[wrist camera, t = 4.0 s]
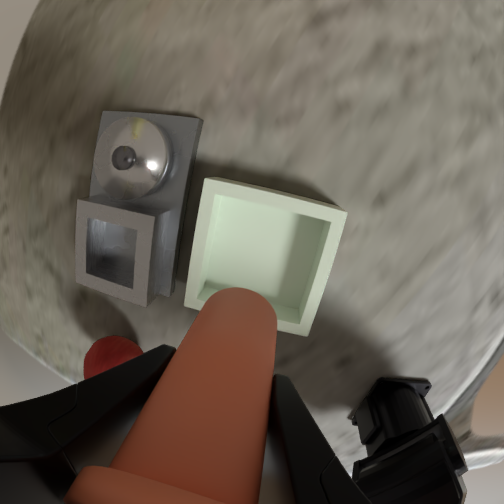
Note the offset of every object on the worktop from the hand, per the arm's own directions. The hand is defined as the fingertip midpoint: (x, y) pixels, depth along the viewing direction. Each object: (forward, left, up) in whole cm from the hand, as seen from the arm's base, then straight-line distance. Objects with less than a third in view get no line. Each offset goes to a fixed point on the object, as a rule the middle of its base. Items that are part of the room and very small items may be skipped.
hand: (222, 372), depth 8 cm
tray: (0, 0, -13) cm, 13 cm away
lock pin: (0, 0, -3) cm, 3 cm away
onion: (+9, +12, -13) cm, 20 cm away
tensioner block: (+10, -2, -13) cm, 16 cm away
